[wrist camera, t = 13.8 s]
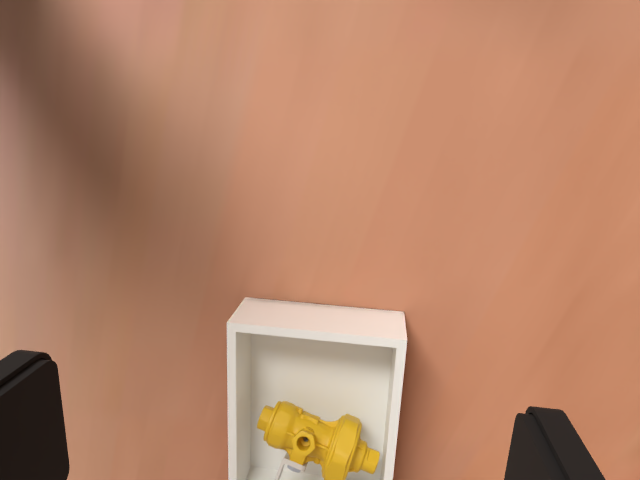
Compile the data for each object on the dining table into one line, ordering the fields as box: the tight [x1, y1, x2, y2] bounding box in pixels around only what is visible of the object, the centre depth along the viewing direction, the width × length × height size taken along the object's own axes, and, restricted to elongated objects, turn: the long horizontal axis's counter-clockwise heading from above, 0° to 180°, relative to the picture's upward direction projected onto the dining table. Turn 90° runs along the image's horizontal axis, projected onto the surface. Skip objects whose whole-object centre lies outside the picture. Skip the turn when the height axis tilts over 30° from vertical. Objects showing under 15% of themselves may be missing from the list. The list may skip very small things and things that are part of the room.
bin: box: [227, 297, 407, 480], centre depth 39 cm, size 13×17×5 cm
